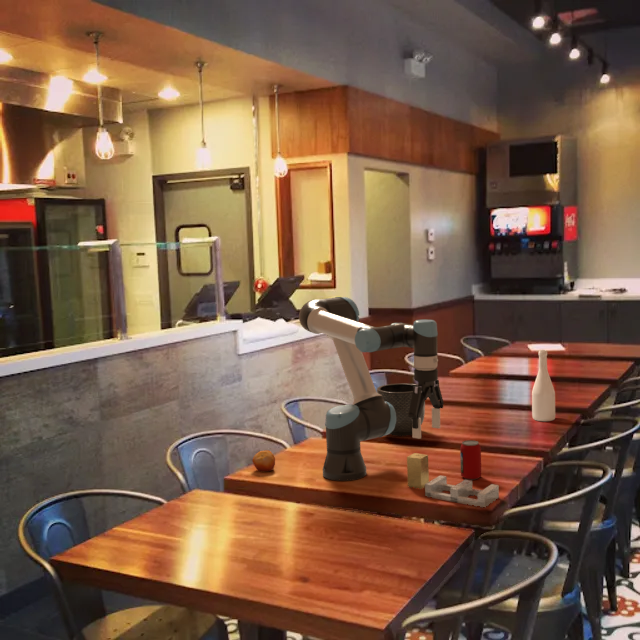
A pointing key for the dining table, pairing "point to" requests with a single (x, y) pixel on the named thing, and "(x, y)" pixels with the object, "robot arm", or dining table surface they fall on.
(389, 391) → the planter
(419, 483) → the brass block
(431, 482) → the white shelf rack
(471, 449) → the beverage can
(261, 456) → the fruit
